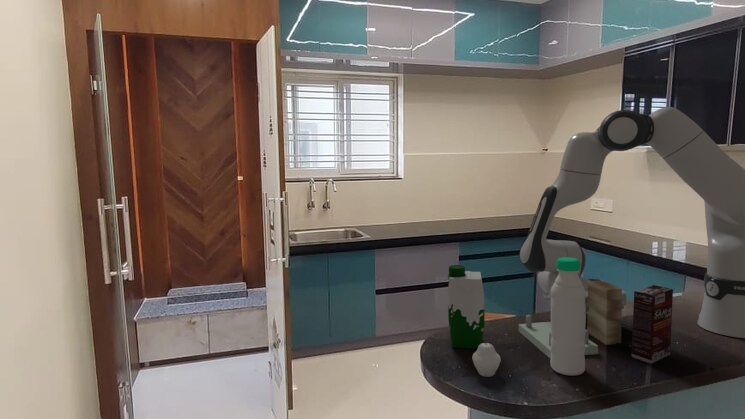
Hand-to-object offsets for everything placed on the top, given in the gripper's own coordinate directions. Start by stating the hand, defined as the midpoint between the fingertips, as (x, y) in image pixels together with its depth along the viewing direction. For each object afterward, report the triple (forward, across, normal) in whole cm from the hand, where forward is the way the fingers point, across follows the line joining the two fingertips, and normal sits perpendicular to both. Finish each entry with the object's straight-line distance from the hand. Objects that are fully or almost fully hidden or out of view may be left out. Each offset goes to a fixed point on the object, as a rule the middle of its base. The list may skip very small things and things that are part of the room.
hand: (604, 307), depth 116 cm
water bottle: (+15, -18, +8) cm, 25 cm away
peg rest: (0, -13, +8) cm, 15 cm away
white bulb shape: (+13, -36, +8) cm, 39 cm away
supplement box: (+12, +4, +8) cm, 15 cm away
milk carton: (-4, -35, +8) cm, 36 cm away
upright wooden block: (0, 0, +8) cm, 8 cm away
